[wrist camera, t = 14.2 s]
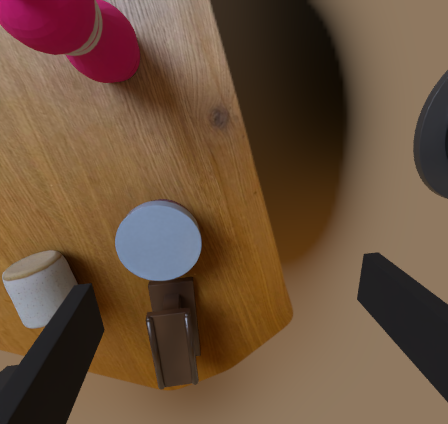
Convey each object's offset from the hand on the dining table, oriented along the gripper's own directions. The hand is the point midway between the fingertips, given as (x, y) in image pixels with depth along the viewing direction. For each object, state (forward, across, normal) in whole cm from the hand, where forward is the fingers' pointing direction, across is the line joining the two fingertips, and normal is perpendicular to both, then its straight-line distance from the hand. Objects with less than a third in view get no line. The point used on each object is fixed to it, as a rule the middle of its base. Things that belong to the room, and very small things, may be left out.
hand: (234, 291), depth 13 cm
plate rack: (+26, -7, -25) cm, 37 cm away
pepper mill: (+26, -10, +15) cm, 32 cm away
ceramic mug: (+26, -25, -13) cm, 39 cm away
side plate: (+23, -7, -8) cm, 25 cm away
